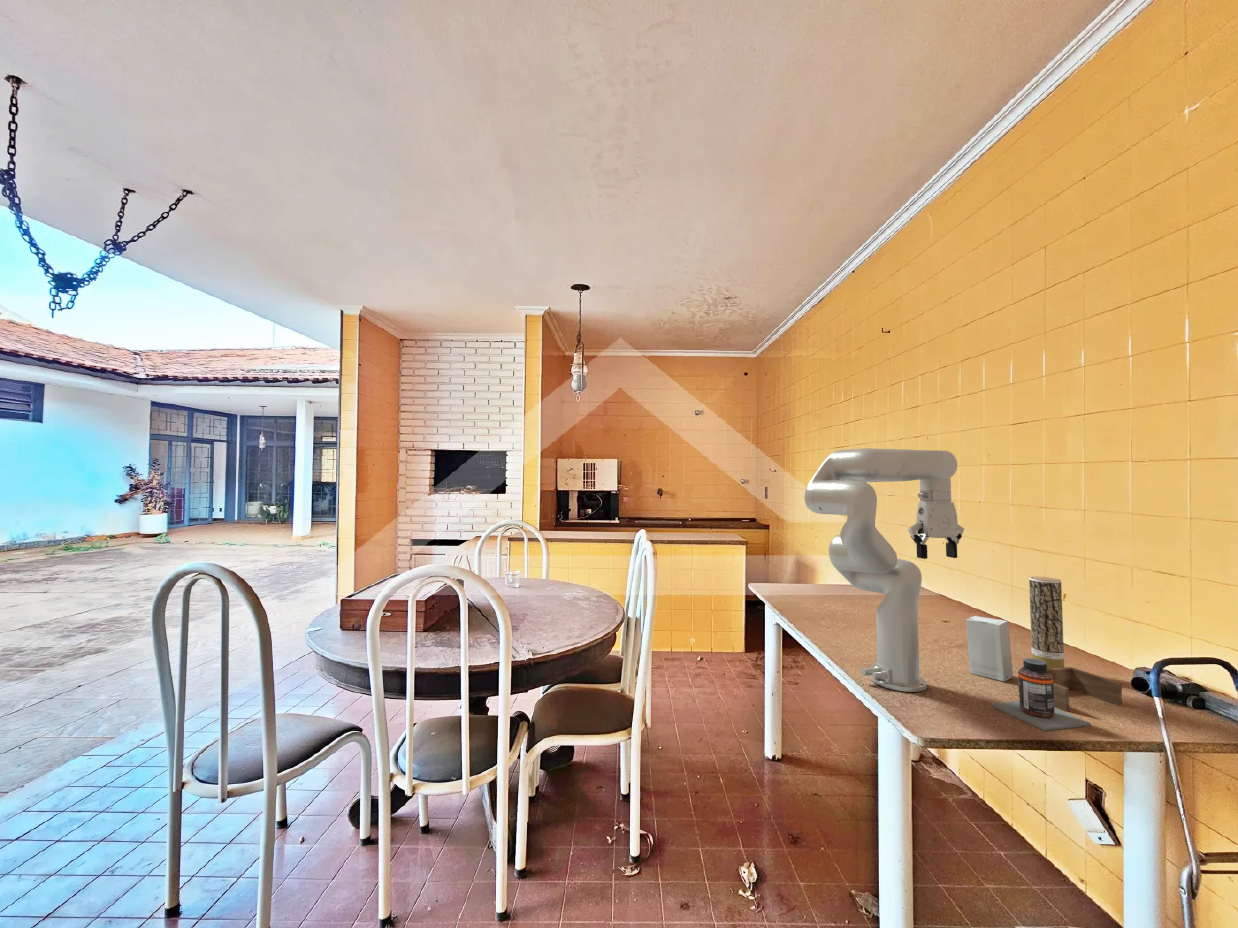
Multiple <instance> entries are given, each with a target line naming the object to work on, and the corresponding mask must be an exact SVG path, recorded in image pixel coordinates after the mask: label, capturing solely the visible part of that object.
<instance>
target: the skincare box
mask: <svg viewBox="0 0 1238 928" xmlns="http://www.w3.org/2000/svg"><path fill="white" fill-rule="evenodd" d="M965 623H966V634H967V635H966V638H967V648H968V649H967V650H968V663H969V664H968V665H969V673H970V674H972V675H976V676H981V677H985V678H989V679H993V680H996V681H1001V682H1006V681H1008V680H1011V679H1013V676H1014V671H1013V670H1014V669H1013V661H1012V649H1011V648H1012V647H1011V638H1010V636H1011V635H1010V627H1009V626H1010V625H1009V621H1008V620H1004V619H999V618H998V619H997V618H990V617H984V616H978V615H974V616H970V617H968V618H966V619H965Z"/></svg>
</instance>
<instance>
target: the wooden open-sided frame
mask: <svg viewBox="0 0 1238 928" xmlns="http://www.w3.org/2000/svg"><path fill="white" fill-rule="evenodd" d="M1046 670H1047V671H1048V672H1049V673H1050V674H1051V675H1052V676H1053V689H1054V708H1056V709H1058V710H1060V711H1063V712H1070V690H1074V691H1077V692H1080V693H1082V694H1085V695H1088V696H1090V697H1094V698H1097V699H1099V700H1102V701H1104V702H1108V703H1110V704H1113V705H1115V704H1116V705H1115V706H1118V707H1121V706H1120V705H1122V706H1123V691H1122V688H1123V687H1122V684H1123V683H1121V682H1118V681H1115V680H1112V679H1109V678H1106V677H1103V676H1099V675H1096V674H1094V673H1090V672H1088V671H1084V670H1081V669H1078V668H1075V667H1072V666H1067V667H1065V666H1064V667H1063V668H1051V669H1046ZM1017 677H1018V678H1017V680H1018V681H1017V683H1018V687H1017V688H1019V670H1017Z"/></svg>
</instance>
